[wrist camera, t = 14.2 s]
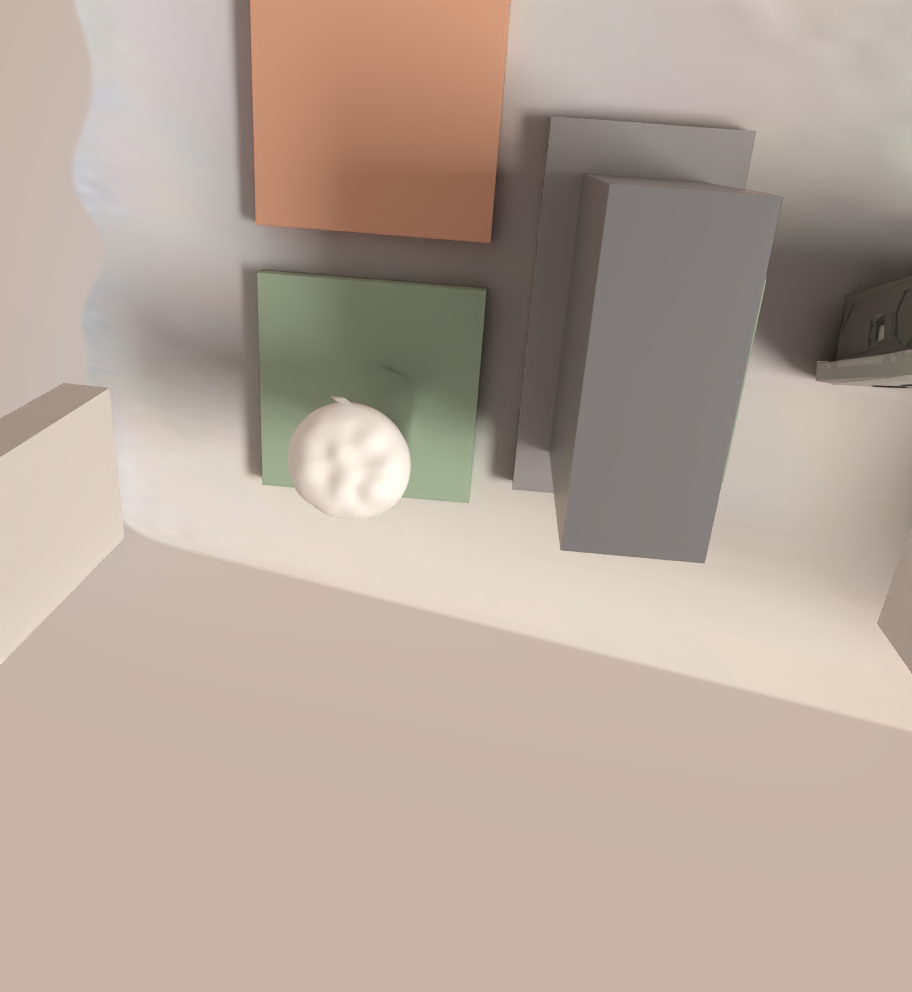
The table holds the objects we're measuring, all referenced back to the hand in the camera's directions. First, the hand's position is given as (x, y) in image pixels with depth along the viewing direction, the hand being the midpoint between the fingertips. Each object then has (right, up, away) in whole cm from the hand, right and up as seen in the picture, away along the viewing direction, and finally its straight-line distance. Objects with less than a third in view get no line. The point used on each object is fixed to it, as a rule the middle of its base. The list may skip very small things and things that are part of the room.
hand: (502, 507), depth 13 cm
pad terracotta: (-4, +16, +20) cm, 26 cm away
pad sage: (-5, +5, +25) cm, 26 cm away
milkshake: (-4, +5, +24) cm, 25 cm away
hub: (+7, +8, +23) cm, 25 cm away
